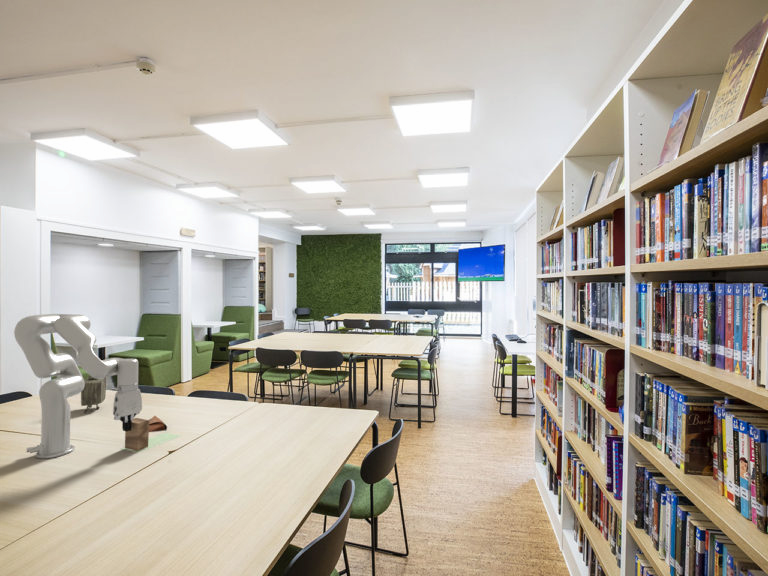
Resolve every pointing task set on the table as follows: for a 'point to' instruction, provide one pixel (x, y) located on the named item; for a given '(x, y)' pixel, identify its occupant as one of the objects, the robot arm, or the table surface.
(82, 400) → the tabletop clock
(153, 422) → the sunglasses case
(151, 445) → the felt mat
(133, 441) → the walnut block
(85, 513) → the table surface
